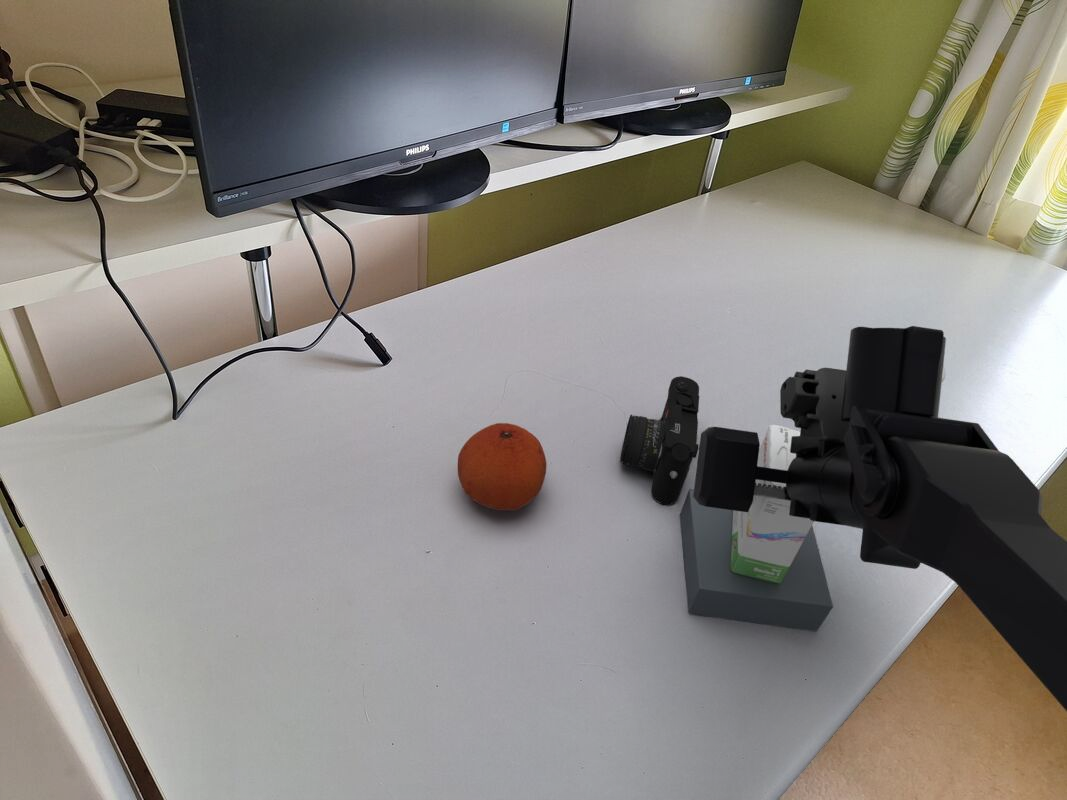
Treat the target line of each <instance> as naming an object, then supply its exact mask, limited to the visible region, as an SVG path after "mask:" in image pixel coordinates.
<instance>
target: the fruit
mask: <svg viewBox="0 0 1067 800" xmlns="http://www.w3.org/2000/svg"><path fill="white" fill-rule="evenodd" d="M546 474H547V459H546V454H545V451H544V449H543V446H542V444H541V442H540V440H539V439H538V438H537V436H535V435H534V434H533V433H531V432H530V431H529V430H528V429H526V428H524V427H522V426H520V425H517V424H513V423H509V422H496V423H494V424H490V425H488V426H486V427H483V428H482V429H480V430H479V431H476V432H475V433H474V434H473V435H472V436H470V437H469V438H468V440H466V441H465V443H464V445H463V446H462V447H461V448H460V451H459V453H458V456H457V478H458V480H459V483H460V485H461V488H462V489H463V491H464V493H465V494H466V495H467V496H468V497H469V498H470V499H472V500H473V501H474V502H475V503H478V504H479V505H481V506H483V507H486V508H488V509H492V510H497V511H517V510H519V509H522V508H524V507H525V506H527V505H528V504H530V503H531V502H532V501H533V500H534V499H535V498H536V497H537V496H538V495H539V493H540V492H541V490H542V488H543V484H544V482H545V478H546Z"/></svg>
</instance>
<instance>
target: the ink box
mask: <svg viewBox="0 0 1067 800" xmlns="http://www.w3.org/2000/svg"><path fill="white" fill-rule="evenodd" d="M800 431H801V430H800ZM800 431H799V430H796V429H792V428H790V427H786V426H781V425H778V424H772V423H771V424H769V425H768V428H767V430H766V433H765V435H764V437H763V439H762V441H761V444H760V447H759V455H758V464H757V466H758V467H765V468H773V469H780V470H787V471H788V468H789V465H790V463H791V462H792V460H793V459H794V458H796V454H794V453H790V447H791V439H792V436H800ZM755 483H756V484H757V485H758V483H761V485H762V486H763V484H766V486H767V487H768V485H771V486H772V487H773V485H776V487H777V488H778V486H781V488H782V489H783V487H786V484H784V483H777V482H770V481H763V480H755ZM790 502H791V501H789V500H782V499H775V498H768V497H760V496H754V497H753V502H752V505H751V507H750V509H749V511H748V512H741V511H734V510H733V527H732V547H731V570H732V572H733V573H737V574H741V575H745V576H749V577H753V578H757V579H761V580H765V581H769V582H774V583H778V584H780V583H781V582H782V580H783V578H784V576H785V574H786V572H787V571H788V569H789V567H790V565H791V563H792V561H793V559H794V558H795V556H796V554H797V552H798V550H799V548H800V546H801V545H802V543H803V541H804V539H805V537H806V535H807V533H808V532H809V530H810V528H811V526H813V524H814V523H815V521H811V520H810V519H809V518H802V517H795V516H790V515H789V511H790Z"/></svg>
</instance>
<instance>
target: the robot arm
mask: <svg viewBox="0 0 1067 800" xmlns="http://www.w3.org/2000/svg"><path fill="white" fill-rule="evenodd" d="M944 334H945V332H944V331H943V329H939V328H938V329H936V328H930V327H922V326H917V325H916V326H915V325H910V326H908V327H904V328H903V327H868V326H856V327H853V328H851V329H850V333H849V344H848V353H847V360H846V361H847V362H846V369H840V368H832V367H821V368H818V369H817V370H815V369H814V370H813V369H805V370H804V371H803V372H802V371H795V373H794V375H793V376H788V377H787V378H786V379H785V380H784V381H783V382H782V384H781V387H780V390H779V391H780V392H779V394H780V395H779V397H780V399H779V401H780V402H779V403H780V407H779V408H780V415H781V417H782V418H783V419H788V420H789V419H790V420H792V421H793V423H794V424H793V425H794V427H795V428H798V429H800V436H792V439H791V447H790V453H794V454H796V458H794V459H793V460H792V462H791V463H790V465H789V468H788V471H787V470H780V469H773V468H765V467H758V466H757V464H758V455H759V448H760V446H761V444H760V439H759V433H758V432H756V431H749V430H748V431H747V430H742V429H734V428H726V427H720V426H709V427H708V428H706V429H705V430H703V431H702V432H701V433H700V438H699V445H698V453H697V456H698V457H697V461H696V462H697V463H696V464H697V465H696V470H695V480H694V487H693V489H694V494H693V497H694V499H695V500H696V501H697V502H698V504H699V505H702V506H705V507H713V508H720V509H727V510H734V511H741V512H748V511H749V509H750V507H751V505H752V502H753V497H754V496H760V497H768V498H775V499H782V500H789V501H791V502H790V511H789V515H790V516H795V517H802V518H809V519H810V520H811V521H814V522H817V523H823V524H829V525H838V526H846V527H851V528H856V529H861V530H862V534H861V542H860V552H859V558H860V560H861V561H862V562H863V563H869V564H876V565H884V566H891V567H899V568H904V569H914V570H915V569H916V570H917V569H918V568H919V567H920V565H921V564H923V565H925V566H926V567H927V566H928V567H929V568H932V569H934V570H937V571H938V572H940V573H942V574H943V575H945V576H947V578H949V579H951V580H952V581H953V582H954V583H955V584H956V585H957V586H958V587H959V588H960V590H961V591H962V592H963V593H964V594H965V595H966V597H967V598H968V599H969V600H970V601H971V602H972V604H973V605H974V606H975V607H976V608H977V609H978V611H979V612H980V613H981V614H982V615H983V617H984V618H986V620H987V621H988V622H989V623H990V624H991V626H992V627H993V628H994V629H995V630H996V632H997V633H998V634H999V635H1000V636H1001V637H1002V638H1003V640H1004V641H1005V642H1006V643H1007V644H1008V645H1009V647H1010V648H1011V649H1012V650H1013V651H1014V652H1015V654H1016V655H1017V656H1018V657H1019V658H1020V659H1021V661H1022V662H1023V663H1024V664H1025V665H1026V666H1027V668H1029V670H1030V671H1031V672H1032V673H1033V675H1035V677H1036V678H1037V679H1038V680H1039V682H1041V684H1042V685H1043V686H1044V687H1045V688H1046V690H1047V691H1048V692H1049V693H1050V694H1051V695H1052V697H1053V698H1054V699H1055V700H1056V702H1058V703H1059V705H1060V706H1061V707H1062V708H1063V709H1064V711H1065V712H1067V540H1065V538H1063V537H1062V536H1061V535H1059V534H1058V533H1057V532H1056V531H1055V530H1054V529H1053V528H1052V527H1051V526H1050V525H1049V524H1048V523H1047V521H1046V520H1045V519H1044V517H1042V509H1043V508H1042V505H1043V495H1042V493H1041V491H1040V489H1039V488H1038V487H1037V486H1036V484H1034V483H1033V482H1032V480H1031V479H1030V478H1029V477H1028V476H1027V474H1026V473H1025V472H1024V471H1023V470H1022V469H1021V467H1020V466H1019V465H1018V464H1017V463H1016V462H1015V460H1014V459H1013V458H1012V457H1010V456H1009V455H1008V454H1007V453H1005V452H1001V451H1000V450H999V448H998V447H997V446H996V445H995V443H994V442H993V441H992V440H991V438H990V437H989V435H988V434H987V433H986V431H985V430H984V429H983V428H982V426H981V425H980V424H979V423H977V422H973V421H964V420H957V419H951V418H944V417H939V413H940V405H941V404H940V403H941V395H942V394H941V393H942V383H943V382H942V375H943V366H944V363H945V355H946V345H947V344H946V343H947V338H946V337H945V336H944ZM755 480H763V481H770V482H777V483H784V484H786V487H783V489H782V488H781V486H778V488H777V487H776V485H773V487H772V486H771V485H768V487H767V486H766V484H763V486H762V485H761V483H758V485H757V484H756V483H755Z"/></svg>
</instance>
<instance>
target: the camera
mask: <svg viewBox="0 0 1067 800" xmlns="http://www.w3.org/2000/svg"><path fill="white" fill-rule="evenodd" d="M699 405H700V386H699V384H698V382H696V381H695V380H694V379H692V378H690V377H687V376H675V377H673V378H672V379H671V380H670V384H669V387H668V390H667V398H666V401H665V404H664V407H663V411H662V415H661V417H660V419H656V418H655V419H653V418H648V417H646V416H642V415H640V416H639V415H633V414H630V415H629V418H628V421H627V424H626V427H625V428H626V429H625V432H624V436H623V437H624V438H623V441H622V446H621V452H620V457H619V463H622V464H623V465H627V466H631V467H634V468H637V467H640V468H642V469H643V470H647V471H651V472H653V474H652V482H651V488H650V494H651V496H652V498H653V499H654V500H655V501H656V502H658V503H660V504H661V505H668V506H670V505H674V504H675V503H676V502H677V501H678V500H679V498H680V495H681V493H682V490H683V487H684V484H685V482H686V479H687V476H688V474H689V471H690V468H691V464H692V462H693V459H696V458H697V456H698V453H699V444H698V443H697V442H698V431H699V430H698V428H699V418H698V413H699V407H700V406H699Z"/></svg>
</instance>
